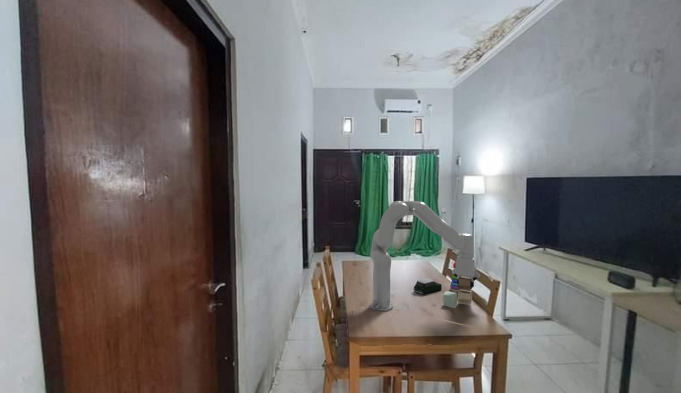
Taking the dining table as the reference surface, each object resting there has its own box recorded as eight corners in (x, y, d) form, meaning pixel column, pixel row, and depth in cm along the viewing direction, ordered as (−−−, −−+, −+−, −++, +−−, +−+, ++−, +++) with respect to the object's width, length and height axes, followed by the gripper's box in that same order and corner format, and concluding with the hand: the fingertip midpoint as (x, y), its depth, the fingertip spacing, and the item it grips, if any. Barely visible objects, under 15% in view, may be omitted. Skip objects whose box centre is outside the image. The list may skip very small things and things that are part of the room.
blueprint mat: (472, 315, 158) (472, 313, 158) (440, 307, 168) (440, 306, 168) (480, 302, 175) (480, 301, 175) (450, 296, 184) (450, 295, 184)
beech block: (469, 305, 170) (469, 294, 169) (458, 302, 173) (458, 292, 173) (471, 301, 174) (471, 291, 174) (460, 299, 178) (460, 289, 178)
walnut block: (469, 291, 169) (469, 280, 169) (458, 289, 173) (458, 278, 172) (472, 287, 174) (472, 277, 174) (461, 285, 178) (461, 275, 177)
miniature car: (443, 291, 193) (443, 278, 193) (422, 297, 184) (422, 284, 184) (432, 287, 201) (432, 275, 200) (411, 292, 192) (412, 279, 191)
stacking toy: (461, 294, 187) (462, 264, 186) (448, 291, 192) (448, 262, 191) (464, 290, 194) (464, 261, 193) (451, 287, 198) (451, 259, 197)
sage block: (454, 307, 167) (454, 296, 166) (443, 304, 170) (443, 294, 170) (457, 303, 171) (457, 293, 171) (446, 301, 175) (446, 291, 175)
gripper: (448, 254, 174) (448, 285, 175) (480, 259, 164) (480, 291, 165) (451, 252, 180) (451, 282, 181) (483, 256, 170) (483, 287, 171)
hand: (465, 286), depth 173 cm, fingers closed on walnut block, 6 cm apart
